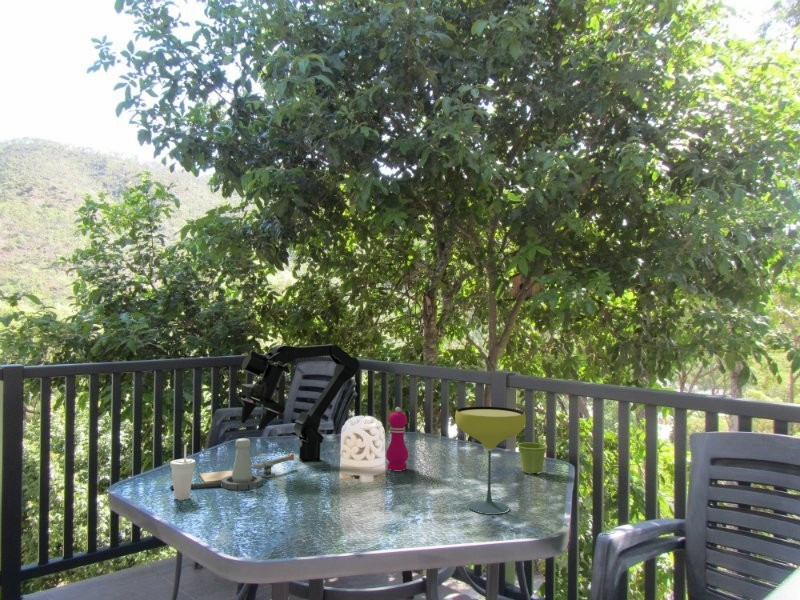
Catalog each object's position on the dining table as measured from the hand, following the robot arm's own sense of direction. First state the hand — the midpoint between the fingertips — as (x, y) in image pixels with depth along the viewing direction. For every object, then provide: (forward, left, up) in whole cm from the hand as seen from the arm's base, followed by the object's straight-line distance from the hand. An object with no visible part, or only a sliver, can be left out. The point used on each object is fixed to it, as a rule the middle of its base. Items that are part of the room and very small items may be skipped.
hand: (250, 426), depth 201 cm
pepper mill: (-45, +14, -13) cm, 49 cm away
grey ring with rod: (+11, +21, -13) cm, 27 cm away
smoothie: (+20, +31, -13) cm, 39 cm away
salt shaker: (+4, +21, -13) cm, 25 cm away
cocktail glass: (-56, +59, -13) cm, 83 cm away
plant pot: (-86, +28, -13) cm, 92 cm away
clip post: (-4, +13, -13) cm, 19 cm away
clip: (-7, +11, -10) cm, 16 cm away
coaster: (+10, +12, -13) cm, 20 cm away
